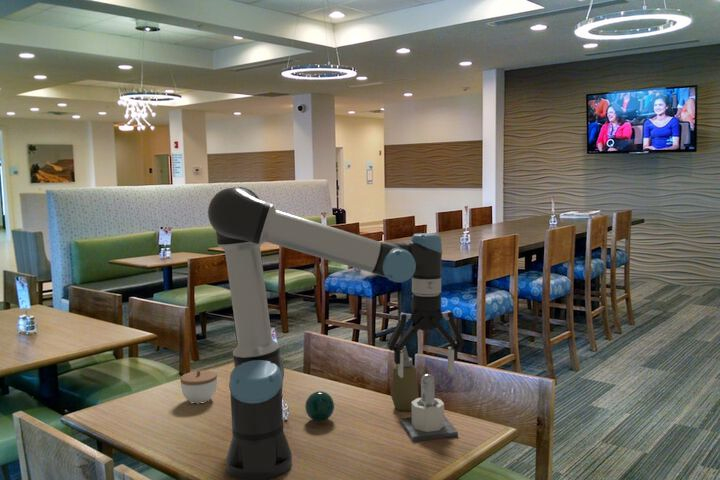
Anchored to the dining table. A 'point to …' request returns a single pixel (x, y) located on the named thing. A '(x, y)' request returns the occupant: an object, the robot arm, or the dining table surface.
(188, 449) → the dining table surface
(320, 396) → the sphere
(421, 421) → the ring
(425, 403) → the post
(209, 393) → the lidded jar
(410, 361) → the squeeze bottle
